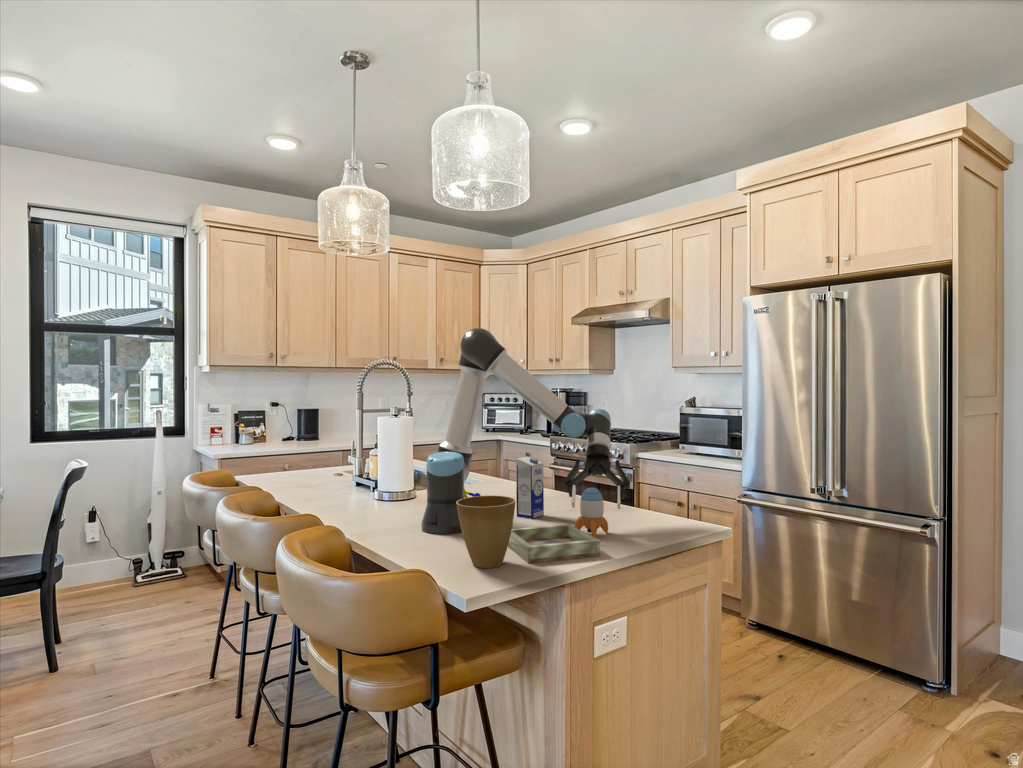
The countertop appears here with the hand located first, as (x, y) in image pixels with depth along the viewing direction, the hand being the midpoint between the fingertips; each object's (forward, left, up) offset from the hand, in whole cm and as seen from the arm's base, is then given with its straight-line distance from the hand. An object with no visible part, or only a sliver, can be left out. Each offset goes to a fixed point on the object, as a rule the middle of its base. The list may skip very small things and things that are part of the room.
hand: (595, 505), depth 181 cm
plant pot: (-39, -18, -9) cm, 44 cm away
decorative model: (-29, +55, -9) cm, 62 cm away
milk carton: (-10, +31, -9) cm, 33 cm away
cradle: (-19, -11, -8) cm, 24 cm away
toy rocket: (-2, -1, -9) cm, 9 cm away
